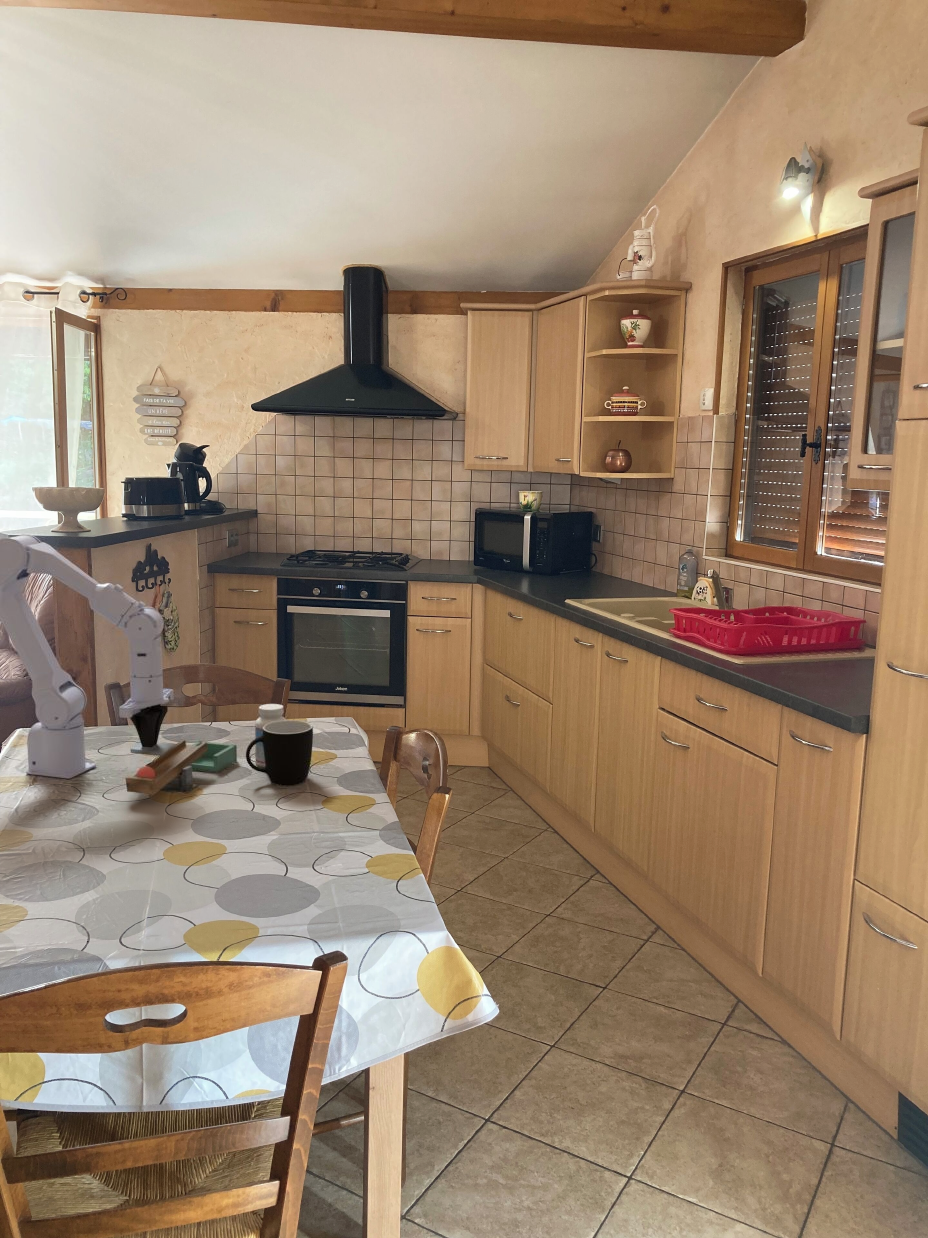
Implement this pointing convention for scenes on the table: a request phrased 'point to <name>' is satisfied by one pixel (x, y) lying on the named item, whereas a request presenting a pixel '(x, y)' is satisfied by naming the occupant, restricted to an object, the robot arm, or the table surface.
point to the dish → (215, 757)
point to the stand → (181, 782)
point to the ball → (146, 772)
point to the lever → (164, 764)
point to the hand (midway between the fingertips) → (149, 746)
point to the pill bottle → (266, 716)
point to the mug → (285, 751)
